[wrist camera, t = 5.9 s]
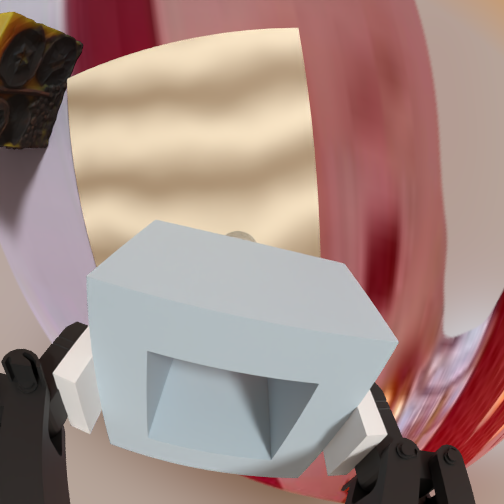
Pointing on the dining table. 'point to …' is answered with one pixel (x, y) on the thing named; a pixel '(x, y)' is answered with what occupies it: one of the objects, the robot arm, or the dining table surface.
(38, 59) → the yellow black cube
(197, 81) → the board
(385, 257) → the dining table surface
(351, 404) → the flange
